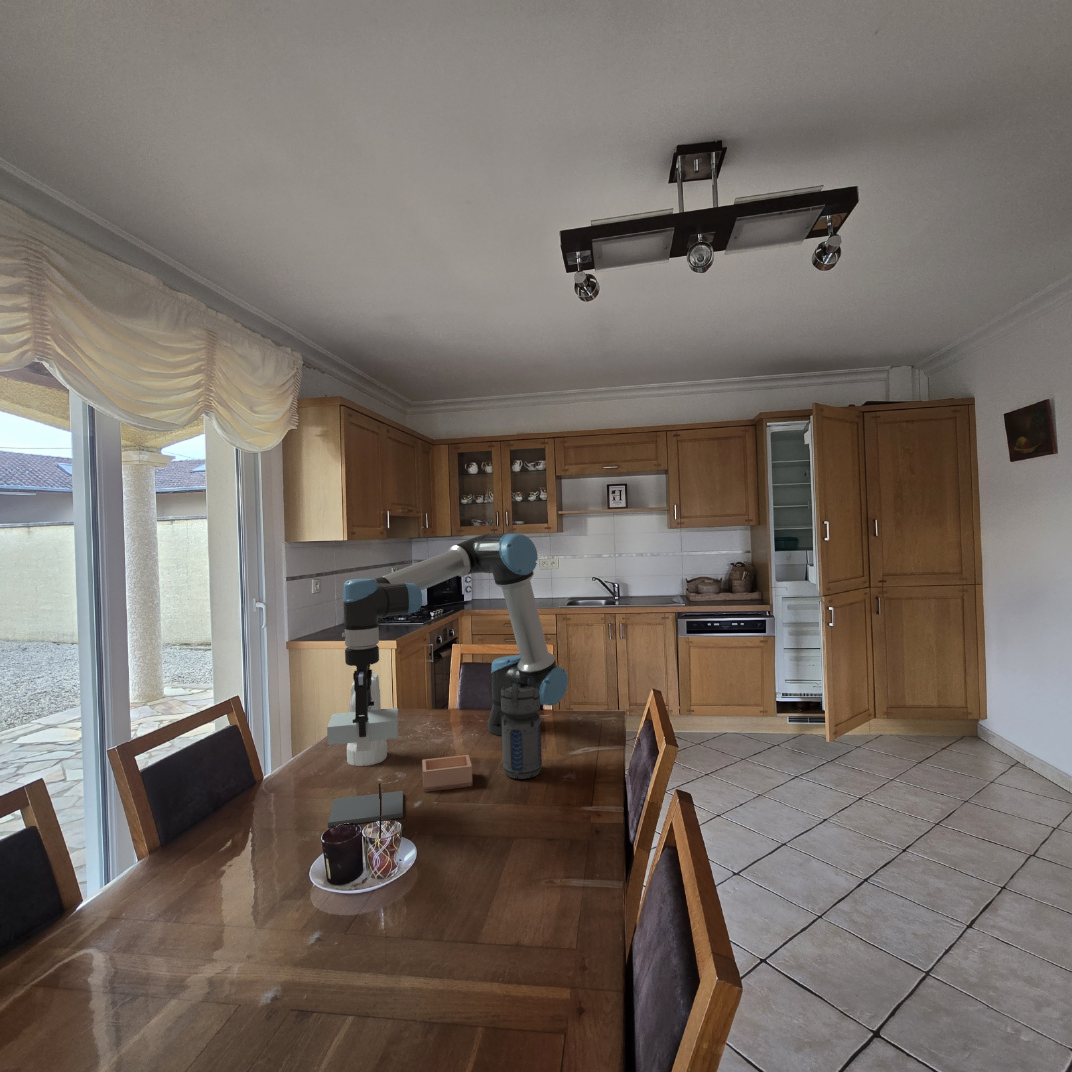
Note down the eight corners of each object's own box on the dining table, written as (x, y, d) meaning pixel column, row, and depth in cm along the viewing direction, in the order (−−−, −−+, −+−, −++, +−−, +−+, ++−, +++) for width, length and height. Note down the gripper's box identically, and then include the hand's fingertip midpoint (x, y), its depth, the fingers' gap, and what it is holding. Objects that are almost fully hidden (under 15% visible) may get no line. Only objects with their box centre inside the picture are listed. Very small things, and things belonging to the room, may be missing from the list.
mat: (402, 794, 146) (402, 790, 146) (402, 817, 134) (402, 813, 134) (334, 803, 142) (334, 798, 142) (327, 827, 130) (327, 822, 130)
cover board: (398, 724, 144) (397, 708, 144) (397, 738, 134) (397, 720, 134) (332, 730, 141) (332, 713, 141) (327, 745, 131) (327, 727, 131)
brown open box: (469, 773, 157) (468, 754, 157) (472, 786, 149) (471, 766, 149) (422, 779, 154) (422, 759, 154) (423, 792, 147) (423, 771, 147)
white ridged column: (380, 765, 164) (377, 675, 164) (341, 766, 164) (338, 676, 164) (390, 751, 175) (388, 666, 175) (354, 751, 175) (351, 667, 175)
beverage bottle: (547, 763, 162) (545, 671, 162) (536, 783, 149) (532, 684, 149) (512, 761, 165) (509, 670, 165) (497, 780, 152) (494, 683, 152)
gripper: (349, 638, 148) (352, 728, 148) (339, 657, 126) (342, 762, 126) (380, 636, 149) (383, 725, 150) (376, 654, 127) (379, 758, 128)
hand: (364, 742), depth 138 cm, fingers closed on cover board, 10 cm apart
